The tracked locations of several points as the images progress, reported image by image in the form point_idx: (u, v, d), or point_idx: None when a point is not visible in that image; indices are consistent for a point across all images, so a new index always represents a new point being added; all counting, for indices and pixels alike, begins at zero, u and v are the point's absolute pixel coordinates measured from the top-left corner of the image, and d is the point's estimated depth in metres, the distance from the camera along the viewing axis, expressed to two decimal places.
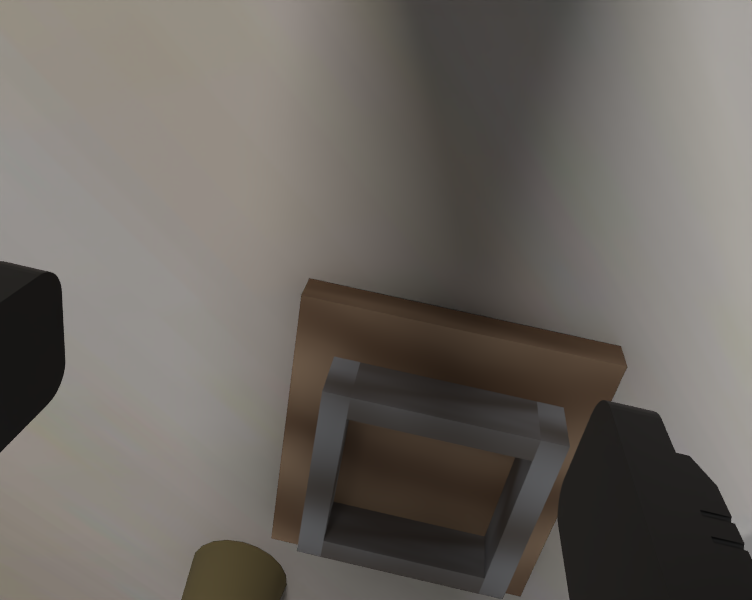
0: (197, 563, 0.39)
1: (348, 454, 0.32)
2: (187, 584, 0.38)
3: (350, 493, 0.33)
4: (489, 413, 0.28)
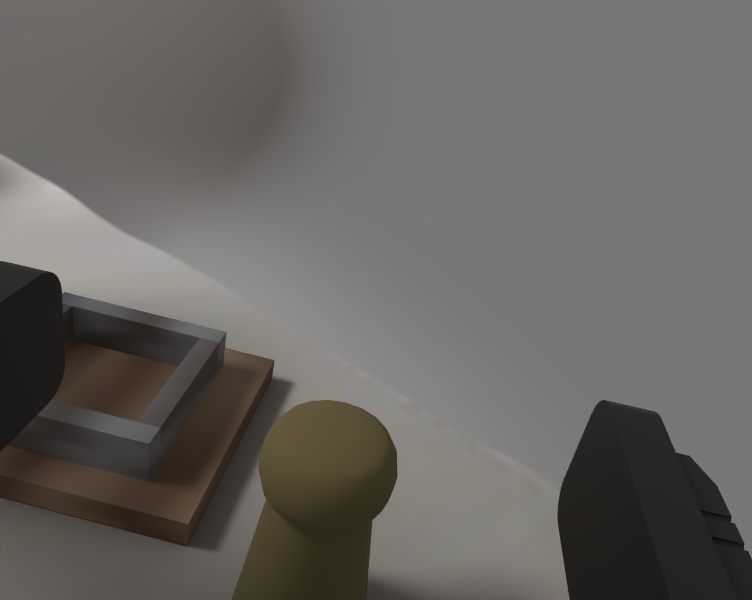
0: None
1: None
2: None
3: None
4: None
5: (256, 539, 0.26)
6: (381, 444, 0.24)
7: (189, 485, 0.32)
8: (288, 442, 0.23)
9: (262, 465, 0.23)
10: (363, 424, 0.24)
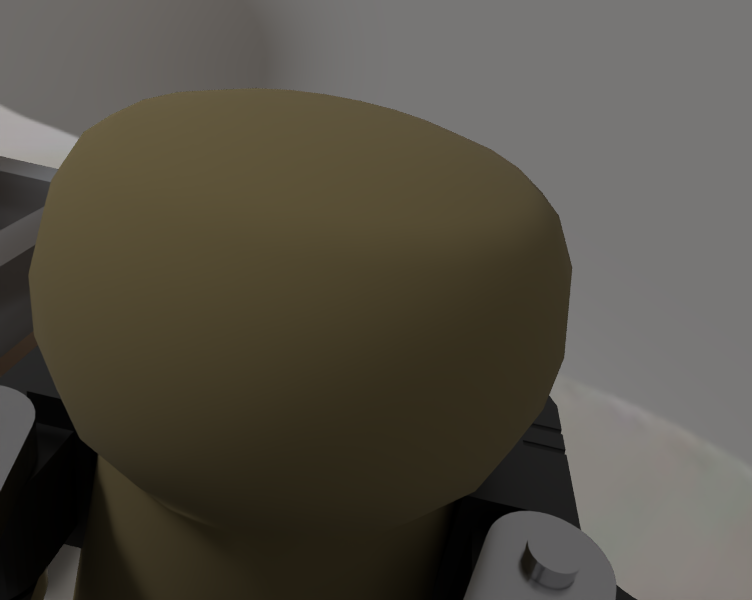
0: None
1: None
2: None
3: None
4: None
5: (79, 563, 0.08)
6: (520, 179, 0.06)
7: None
8: (130, 131, 0.05)
9: None
10: (438, 128, 0.07)
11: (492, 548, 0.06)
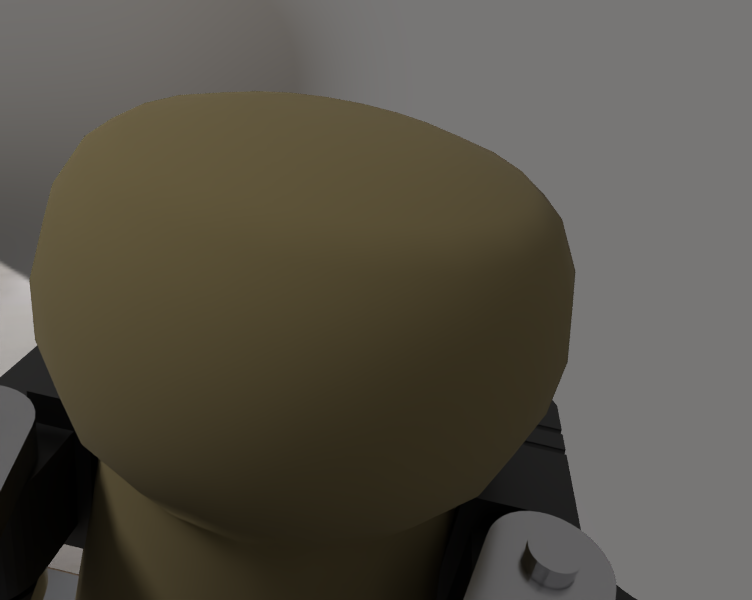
0: None
1: None
2: None
3: None
4: None
5: (81, 567, 0.08)
6: (521, 183, 0.06)
7: None
8: (131, 135, 0.05)
9: None
10: (441, 131, 0.07)
11: (492, 548, 0.06)
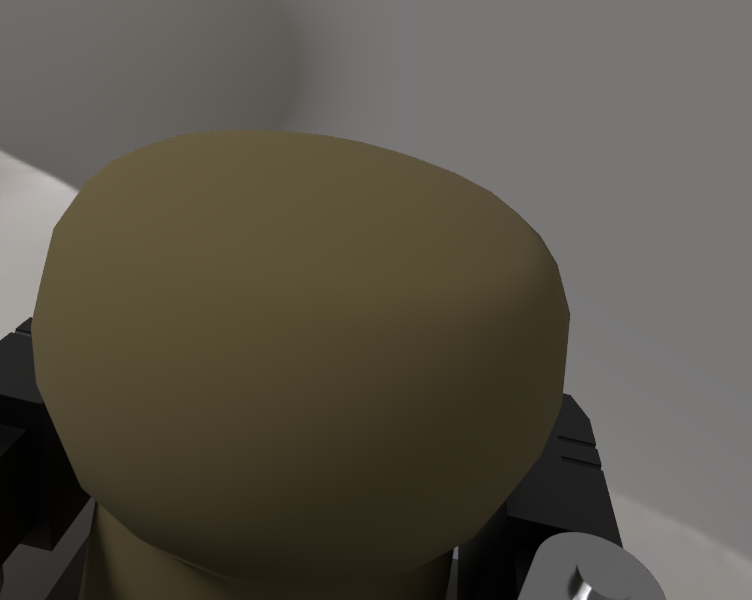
0: None
1: None
2: None
3: None
4: None
5: (80, 596, 0.08)
6: (518, 228, 0.06)
7: None
8: (132, 186, 0.05)
9: None
10: (438, 172, 0.07)
11: (541, 572, 0.06)
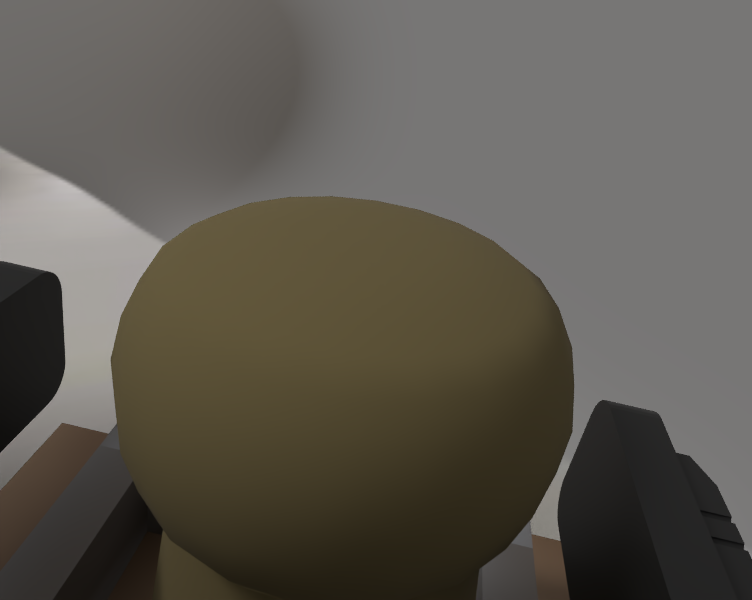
0: None
1: None
2: None
3: None
4: None
5: None
6: (522, 280, 0.07)
7: None
8: (196, 281, 0.06)
9: (114, 383, 0.06)
10: (447, 231, 0.08)
11: None
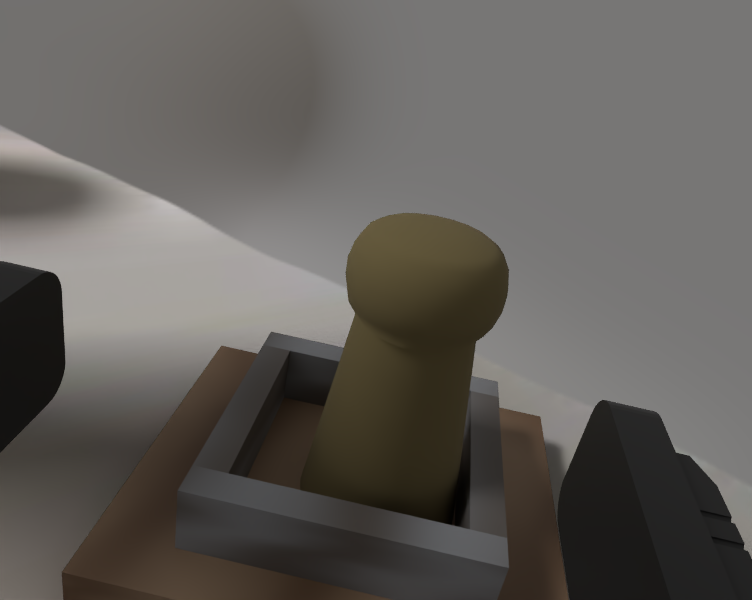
0: None
1: None
2: (352, 490, 0.22)
3: None
4: None
5: (339, 384, 0.22)
6: (491, 244, 0.20)
7: None
8: (388, 238, 0.19)
9: (355, 272, 0.20)
10: (465, 227, 0.21)
11: None
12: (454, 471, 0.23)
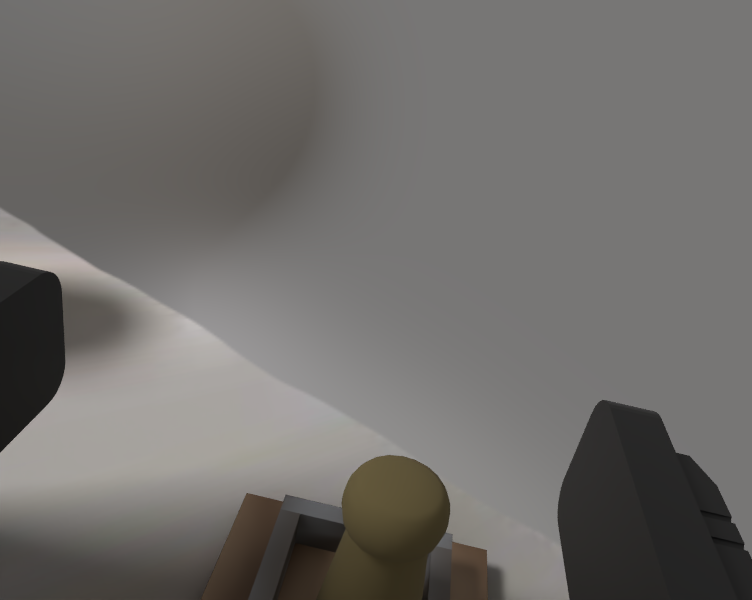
0: None
1: None
2: None
3: None
4: None
5: (337, 570, 0.32)
6: (438, 489, 0.31)
7: None
8: (369, 494, 0.30)
9: (348, 513, 0.30)
10: (421, 474, 0.31)
11: None
12: None
